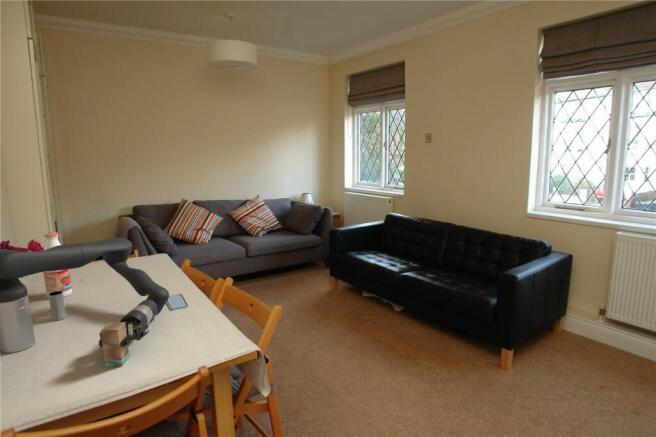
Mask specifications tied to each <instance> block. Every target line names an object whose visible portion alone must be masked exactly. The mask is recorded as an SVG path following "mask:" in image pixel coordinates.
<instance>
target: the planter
mask: <svg viewBox="0 0 656 437" xmlns="http://www.w3.org/2000/svg"><path fill="white" fill-rule="evenodd" d="M48 296H49V298H48V302H49V307H50V308H49V309H50V315H51V320H52V321H54V322H57V321H58V322H59V321H62V320H64V319H66V318H67V313H66V306H65V299H64V297H63V292H62V291H55V292H51V293H49V294H48Z"/></svg>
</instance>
